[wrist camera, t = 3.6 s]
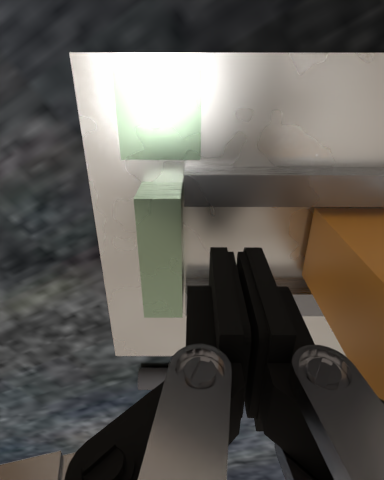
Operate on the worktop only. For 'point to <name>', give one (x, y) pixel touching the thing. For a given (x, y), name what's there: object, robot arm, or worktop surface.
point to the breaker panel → (220, 171)
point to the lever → (351, 283)
